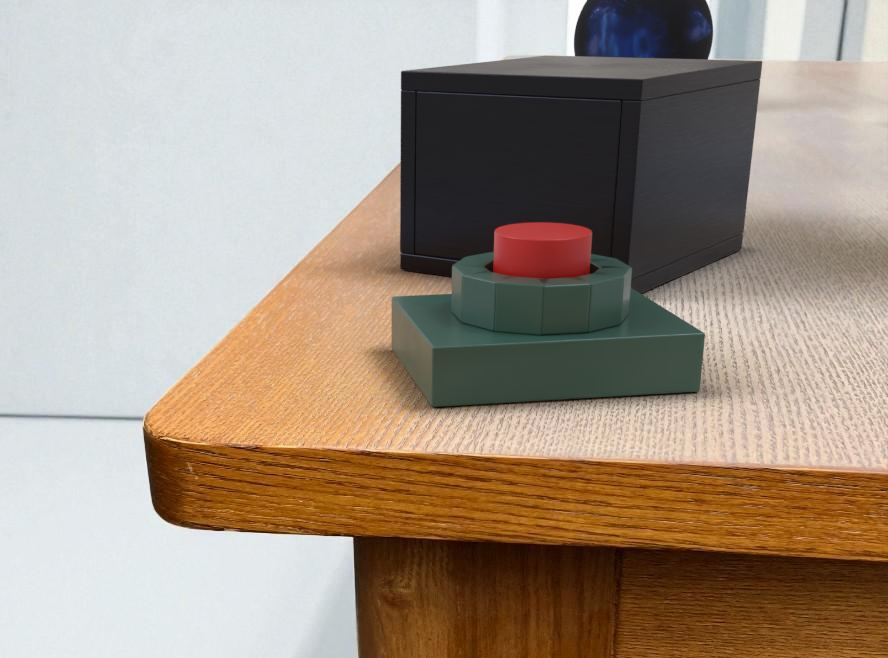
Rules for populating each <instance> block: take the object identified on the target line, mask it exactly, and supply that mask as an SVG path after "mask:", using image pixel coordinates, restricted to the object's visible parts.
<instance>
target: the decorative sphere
mask: <svg viewBox="0 0 888 658" xmlns="http://www.w3.org/2000/svg"><path fill="white" fill-rule="evenodd" d="M713 23H714V22H713V17H712V13H711V10H710V7H709V5H708V2H707V0H586V1H585V3H584V5H583V6H582V9H581V10H580V13H579V15H578V17H577V21H576V24H575V29H574V33H573V34H574V36H573V53H574V56H583V57H624V58H664V59H704V60H709V57H710V54H711V50H712V47H713V46H712V45H713V39H714V24H713Z"/></svg>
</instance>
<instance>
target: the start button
mask: <svg viewBox="0 0 888 658" xmlns="http://www.w3.org/2000/svg"><path fill="white" fill-rule="evenodd" d="M591 245H592V231H591V230H590V229H588V228H585V227H582V226H578V225H572V224H564V223H547V222H533V223H517V224H510V225H505V226H501V227H498V228H497V229H495V232H494V259H493V272H494V273H498V274H503V275H507V276H512V277H527V278H541V279H550V278H572V277H578V276H582V275H587V274H590V261H591Z"/></svg>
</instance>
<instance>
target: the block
mask: <svg viewBox="0 0 888 658" xmlns="http://www.w3.org/2000/svg"><path fill="white" fill-rule="evenodd" d="M493 259H494V252H489V253H483V254H478V255H472V256H467V257H464V258H463V259H461V260H460V261H458V262H457V263H455V264H454V265H452V277H451V293H441V294H440V293H439V294H417V295H414V294H413V295H397V296H392V297H391V350H392V351H393V353H394V354H395V356H396V357H397V359H398V360H399V361H400V363H401V364H402V366H403V367H404V369H405V370H406V371H407V374H408V375H409V376H410V378H411V379H412V380H413V381H414V383H415V385H416V386H417V387H418V389H419V390H420V392H421V393H422V394H423V396H424V398H425V399H426V400H427V402H428V403H429V405H430V406H431V407H432V408H439V407H459V406H475V405H490V404H491V405H493V404H510V403H524V402H525V403H526V402H527V403H529V402H544V401H559V400H576V399H577V400H579V399H596V398H597V399H598V398H611V397H628V396H629V397H630V396H631V397H632V396H646V395H647V396H648V395H663V394H664V395H665V394H681V393H698V392H699V391H700V389H701V380H702V371H703V361H704V360H703V359H704V352H705V342H706V340H705V338H706V333H705V332H703V331H702V330H700V329H699V328H698V327H696V326H694V325H692V324H690V322H687V321H686V320H684V319H682V318H681V317H679V316H678V315H676V314H674V313H673V312H672V311H669V310H668V309H666V308H665V307H663V306H662V305H660V304H658V303H657V302H655V301H654V300H651V299H650V298H649V297H647V296H645V295H644V294H643V293H641V294H640V293H639V292H637V291H636V290H634V289H632V288H631V277H632V267H630V266H628V265H627V264H625V263H623V262H621V261H620V260H618V259H616V258H611V257H605V256H600V255H595V254H591V261H590V274H587V275H582V276H578V277H572V278H550V279H541V278H527V277H512V276H507V275H503V274H498V273H494V272H493Z"/></svg>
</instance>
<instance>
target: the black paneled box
mask: <svg viewBox="0 0 888 658" xmlns="http://www.w3.org/2000/svg"><path fill="white" fill-rule="evenodd" d="M762 68H763V61H762V60H745V59H744V60H739V59H738V60H737V59H708V60H704V59H664V58H624V57H583V56H575V55H572V56H571V55H538V56H528V57H519V58H511V59H501V60H489V61H482V62H481V61H480V62H472V63H461V64H453V65H443V66H436V67H435V66H434V67H426V68H415V69H406V70H401V71H400V176H399V177H400V182H399V183H400V185H399V188H400V189H399V190H400V191H399V192H400V194H399V195H400V197H399V198H400V199H399V202H400V204H399V209H400V210H399V215H400V216H399V229H400V230H399V248H400V249H399V250H400V251H399V252H400V255H399V257H400V259H399V260H400V262H399V263H400V264H399V265H400V266H399V268H400V270H401V271H407V272H414V273H420V274H428V275H429V274H430V275H436V276H443V277H450V278H452V265H454V264H455V263H457V262H458V261H460V260H461V259H463V258H464V257H467V256H472V255H478V254H483V253H489V252H494V232H495V229H497V228H498V227H501V226H505V225H510V224H517V223H533V222H547V223H564V224H572V225H578V226H582V227H585V228H588V229H590V230H591V231H592V245H591V254H595V255H600V256H605V257H611V258H616V259H618V260H620V261H621V262H623V263H625V264H627V265H628V266H630V267H632V277H631V288H632V289H634V290H636V291H637V292H639V293H640V294H644V293H645V292H648V291H650V290H652V289H655V288H657V287H659V286H661V285H664V284H666V283H669V282H670V281H673V280H675V279H677V278H679V277H682V276H684V275H686V274H689V273H691V272H693V271H695V270H698V269H700V268H702V267H704V266H707V265H709V264H711V263H713V262H715V261H718V260H720V259H722V258H725V257H726V256H727V257H728V256H729V255H732V254H734V253H736V252H739V251H741V250H742V247H743V238H744V232H745V221H746V214H747V204H748V195H749V185H750V177H751V168H752V160H753V159H752V158H753V149H754V143H755V142H754V140H755V131H756V125H757V124H756V122H757V114H758V103H759V95H760V85H761V78H762V71H763V69H762Z"/></svg>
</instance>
